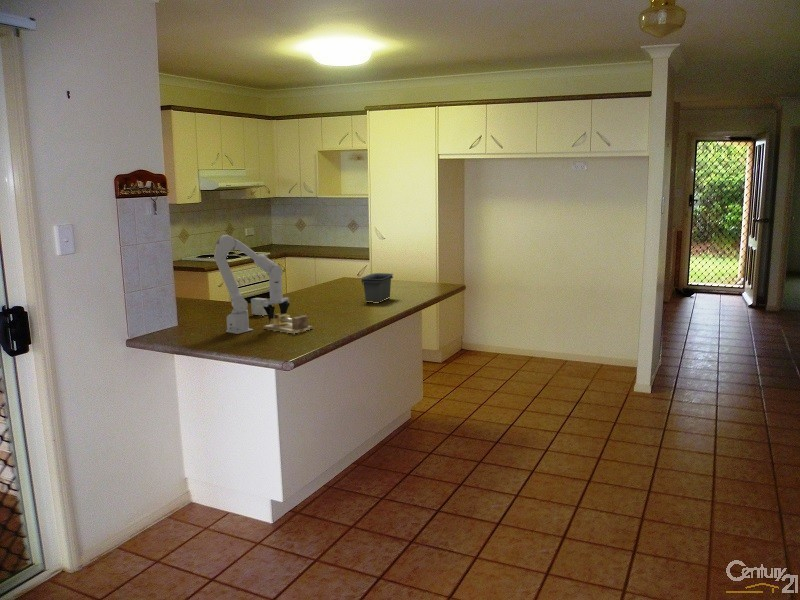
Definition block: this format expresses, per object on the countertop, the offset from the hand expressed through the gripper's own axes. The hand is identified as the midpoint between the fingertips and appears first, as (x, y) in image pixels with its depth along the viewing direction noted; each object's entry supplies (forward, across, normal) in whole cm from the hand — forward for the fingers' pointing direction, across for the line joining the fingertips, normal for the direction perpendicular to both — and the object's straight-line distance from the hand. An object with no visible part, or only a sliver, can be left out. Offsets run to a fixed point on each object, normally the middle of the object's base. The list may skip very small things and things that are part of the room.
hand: (277, 319), depth 312 cm
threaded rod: (+1, 0, -5) cm, 5 cm away
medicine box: (+4, +16, +29) cm, 34 cm away
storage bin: (+4, +80, +4) cm, 80 cm away
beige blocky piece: (+4, 0, -7) cm, 8 cm away
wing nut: (+2, 0, -2) cm, 3 cm away
